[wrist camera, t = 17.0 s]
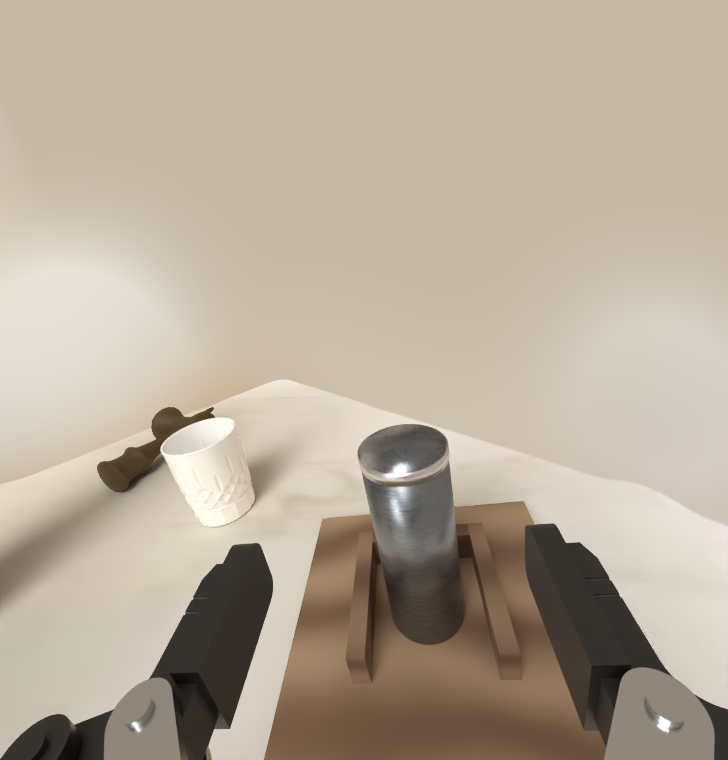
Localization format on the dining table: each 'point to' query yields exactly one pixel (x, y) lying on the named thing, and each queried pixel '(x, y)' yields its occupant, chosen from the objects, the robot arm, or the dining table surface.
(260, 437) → the dining table surface
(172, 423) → the kendama
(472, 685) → the walnut bracket
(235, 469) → the white cup
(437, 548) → the graphite canister
